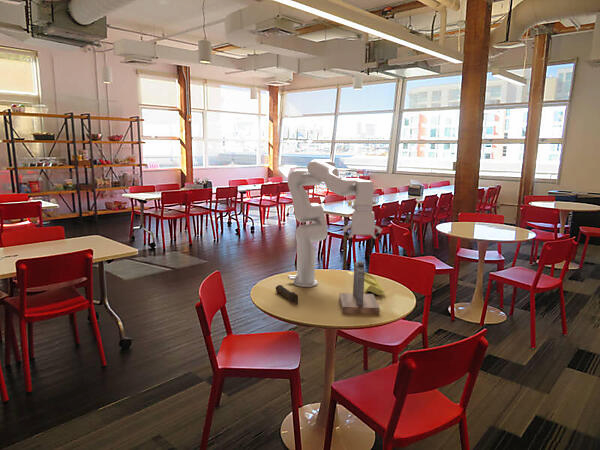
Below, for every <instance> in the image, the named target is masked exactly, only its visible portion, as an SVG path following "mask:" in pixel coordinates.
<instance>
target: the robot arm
mask: <svg viewBox="0 0 600 450" xmlns="http://www.w3.org/2000/svg"><path fill="white" fill-rule="evenodd" d="M306 166H307V167H306V168H298V169H294V170H292V171H291V172H290V173H289V175H288V178H287V186H288V190H289V192H290V195H291V198H292V203H293V204H292V205H293V211H294V216H295V219H296V221H297V222H299V223H306V222H312V223H308V224H302V225H299V226H298V227H297V228H296V230H295V239H296V246H297V247H296V256H297V257H296V274H294V275H292V274H288V275H287V279H289V280H291V281H293V284H294V285H295V286H297V287H302V288H312V287H315V286H317V285H318V280H317V279H315V278H316V249H315V246H314V245H313V243H316V242H322V241H324V240H325V239H327V237H328V226H327V225H328V224H327V221H326V215H325V211H324V208H323V206H322V204H319V202H310V199H309V197H310V196H309V194H308V192H307V190H306V189H305V188H304V186H318V185H320V184H322V183H324V184H325V187H326V188H327V190H328V191H330V192H332V194H333V193H334V194H335V195H338V196H341V197H345V196H346V197H347V196H355V200H354V205H351V209H352V210H353V212H352V216H351V221H350V222H351V223H350V224H348V225H345V226H343V227H342V230H343V232H344V234H345V236H347V238H348V241H347V242H348V243H347V244H348V245H349V247H350V248H352V247H353V236H355V235H356V236H357V235H358V236H371V238H370V247H371V248H372V249H374V248H375V245H376V239H377V238H378V237H379V236H380V234H382V232H383V228H381V227H380V226H378V225H376V221H375V219H376V218H375V212H374V211H373V207H374V206H373V205H374V204H373V203H374V187H375V184H374V181H372V180H367V179H361V178H360V177H359V178H357V177H353V178H352V177H351V178H349V177H348V178H341V177H339V174H340V173H339V169H338V168H336V163H334V161H332V160H331V159H325V158H324V159H322V158H321V159H313V160H311V161H309V162H308V164H307V165H306ZM348 229H350V232H348V231H347V230H348ZM376 230H377V231H376ZM375 231H376V232H375Z"/></svg>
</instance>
